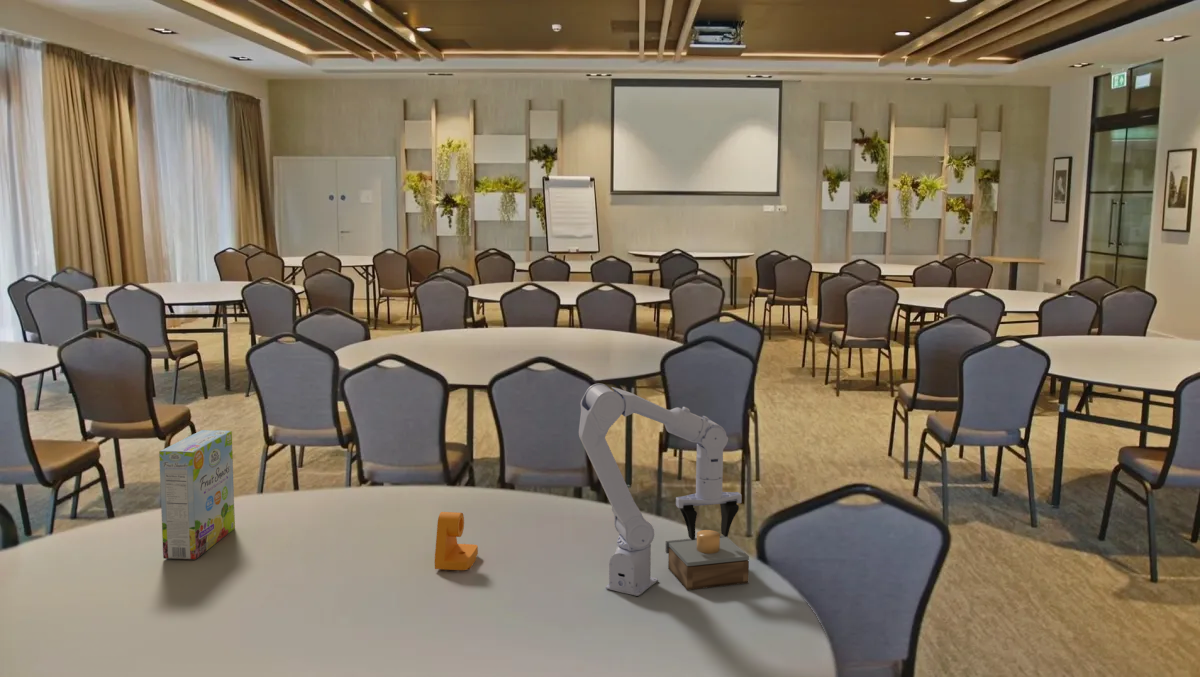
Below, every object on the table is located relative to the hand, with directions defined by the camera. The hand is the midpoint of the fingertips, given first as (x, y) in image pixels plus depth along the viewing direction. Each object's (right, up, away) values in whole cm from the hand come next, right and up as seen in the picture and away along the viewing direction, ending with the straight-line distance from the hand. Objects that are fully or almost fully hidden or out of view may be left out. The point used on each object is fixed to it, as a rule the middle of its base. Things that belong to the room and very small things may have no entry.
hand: (708, 536), depth 199 cm
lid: (0, -5, +1) cm, 6 cm away
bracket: (-56, -8, +8) cm, 57 cm away
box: (0, -9, +1) cm, 9 cm away
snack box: (-119, -6, +20) cm, 121 cm away
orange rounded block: (0, -3, 0) cm, 3 cm away
